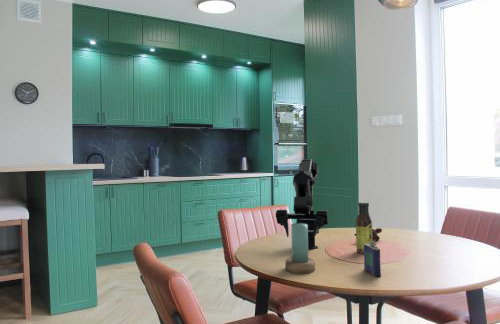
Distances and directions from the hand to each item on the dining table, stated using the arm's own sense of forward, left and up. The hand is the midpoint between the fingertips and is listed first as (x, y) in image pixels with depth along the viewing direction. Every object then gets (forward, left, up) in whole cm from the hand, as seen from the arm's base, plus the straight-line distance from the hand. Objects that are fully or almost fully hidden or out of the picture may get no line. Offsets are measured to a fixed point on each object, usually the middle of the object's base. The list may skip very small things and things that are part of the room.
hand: (300, 236), depth 140 cm
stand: (+3, -2, -10) cm, 11 cm away
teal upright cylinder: (+3, -2, -7) cm, 8 cm away
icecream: (-18, +47, -11) cm, 52 cm away
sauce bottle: (-5, +33, -11) cm, 35 cm away
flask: (+18, +16, -11) cm, 26 cm away
